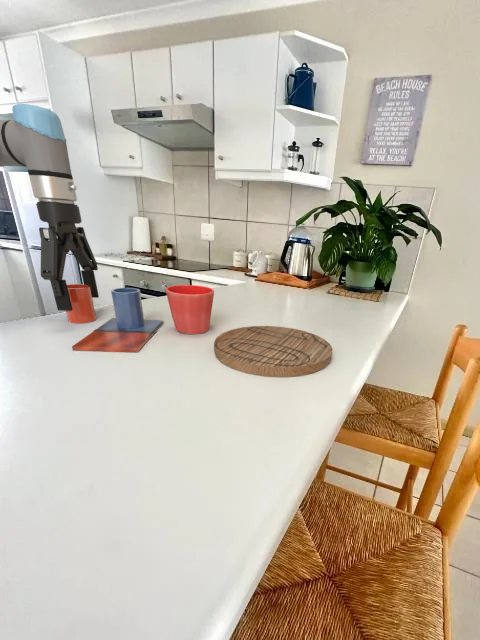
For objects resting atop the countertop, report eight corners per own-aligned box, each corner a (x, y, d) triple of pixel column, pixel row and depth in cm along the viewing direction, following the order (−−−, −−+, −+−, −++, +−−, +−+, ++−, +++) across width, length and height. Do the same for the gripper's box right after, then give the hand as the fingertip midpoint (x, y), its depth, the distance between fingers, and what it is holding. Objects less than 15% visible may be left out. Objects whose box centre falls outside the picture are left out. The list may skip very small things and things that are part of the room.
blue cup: (113, 328, 73) (106, 292, 69) (122, 320, 78) (117, 287, 74) (139, 329, 73) (134, 293, 70) (147, 322, 79) (143, 288, 75)
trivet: (247, 327, 83) (247, 320, 83) (342, 345, 76) (343, 337, 76) (189, 359, 62) (188, 350, 61) (312, 388, 55) (314, 378, 54)
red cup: (63, 322, 76) (55, 288, 72) (75, 315, 81) (68, 283, 78) (89, 323, 77) (82, 289, 73) (100, 317, 82) (94, 284, 78)
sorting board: (72, 350, 62) (71, 345, 62) (112, 321, 80) (112, 317, 79) (137, 352, 63) (137, 348, 63) (162, 323, 81) (162, 319, 81)
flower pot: (224, 328, 81) (223, 289, 77) (193, 340, 72) (191, 296, 68) (191, 320, 85) (189, 282, 81) (159, 330, 76) (154, 288, 72)
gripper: (41, 199, 57) (70, 317, 66) (101, 205, 79) (116, 293, 89) (-5, 196, 56) (31, 316, 66) (68, 203, 78) (87, 292, 88)
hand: (80, 303), depth 77 cm, fingers open, 13 cm apart
